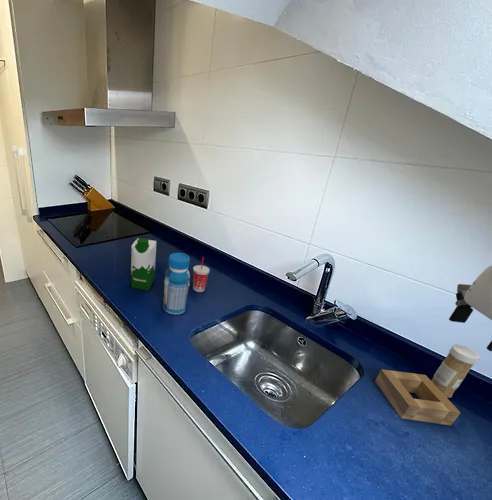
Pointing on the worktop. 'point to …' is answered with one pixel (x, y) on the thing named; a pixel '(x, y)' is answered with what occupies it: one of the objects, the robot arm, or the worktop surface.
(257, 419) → the worktop surface
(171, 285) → the beverage bottle
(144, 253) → the milk carton
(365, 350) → the worktop surface
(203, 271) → the beverage cup
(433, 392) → the frame
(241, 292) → the worktop surface
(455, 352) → the sprinkles bottle
